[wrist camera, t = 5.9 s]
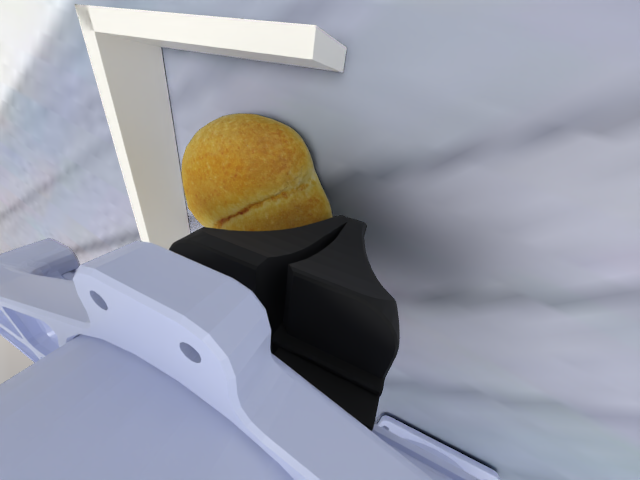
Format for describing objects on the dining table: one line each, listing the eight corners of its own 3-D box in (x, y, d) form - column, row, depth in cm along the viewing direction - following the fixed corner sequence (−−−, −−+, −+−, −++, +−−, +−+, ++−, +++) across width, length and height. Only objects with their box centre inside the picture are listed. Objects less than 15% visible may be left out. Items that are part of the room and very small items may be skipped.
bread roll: (288, 80, 11) (226, 67, 8) (358, 250, 13) (333, 295, 10) (187, 153, 15) (120, 164, 12) (254, 273, 18) (214, 309, 14)
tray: (305, 310, 17) (283, 343, 14) (187, 258, 20) (152, 278, 17) (347, 47, 9) (315, 25, 7) (146, 25, 12) (74, 4, 10)
